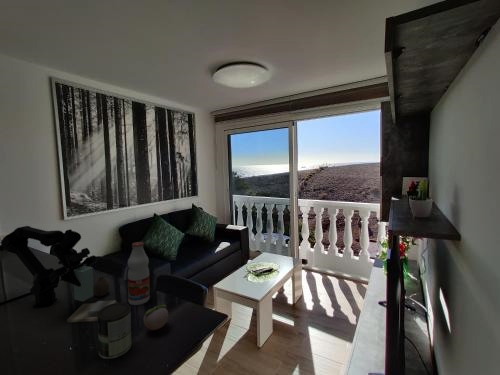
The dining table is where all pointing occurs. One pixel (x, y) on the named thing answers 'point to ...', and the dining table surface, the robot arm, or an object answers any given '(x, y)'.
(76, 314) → the board
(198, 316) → the dining table surface
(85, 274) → the pillar
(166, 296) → the dining table surface
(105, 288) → the vase
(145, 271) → the fruit juice
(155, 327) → the decorative fruit
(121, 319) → the coffee can
